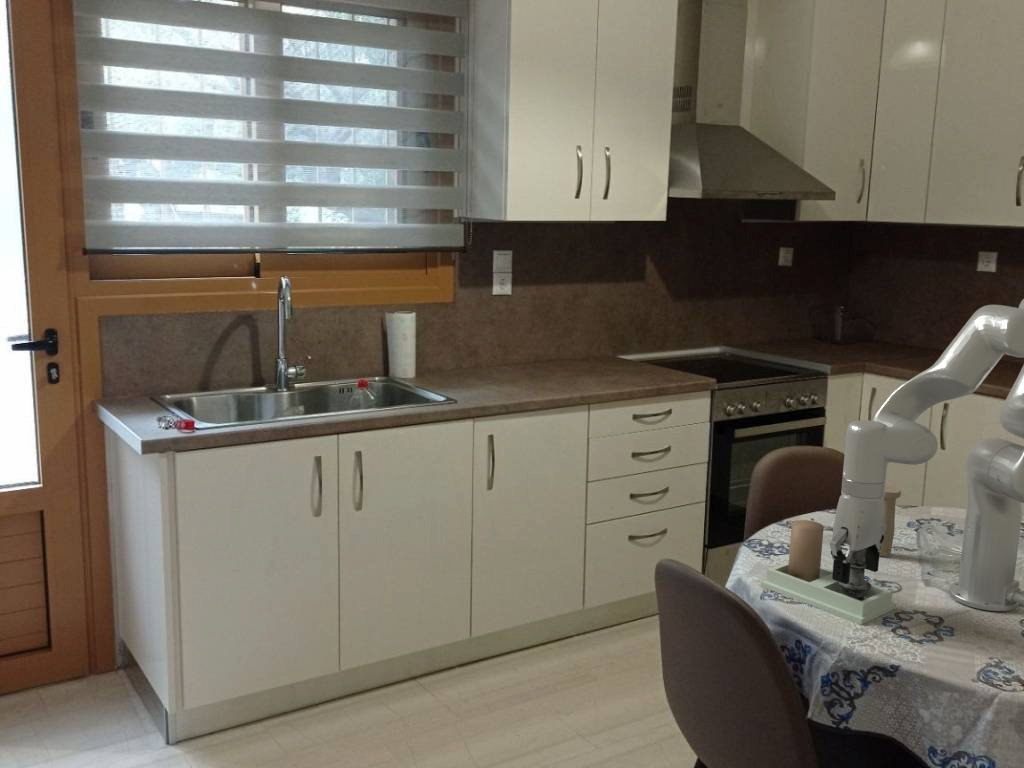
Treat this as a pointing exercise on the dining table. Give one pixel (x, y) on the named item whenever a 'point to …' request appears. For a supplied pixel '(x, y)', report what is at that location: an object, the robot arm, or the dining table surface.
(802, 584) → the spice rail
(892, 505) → the handle
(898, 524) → the dining table surface
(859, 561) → the salt shaker
